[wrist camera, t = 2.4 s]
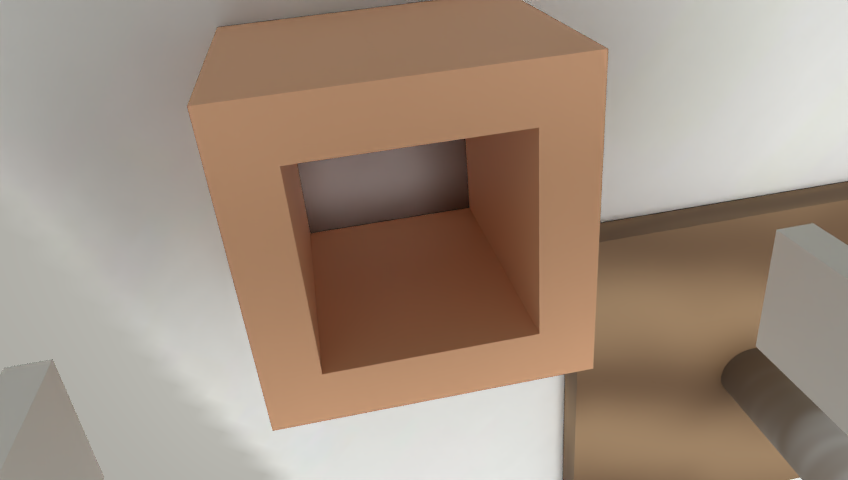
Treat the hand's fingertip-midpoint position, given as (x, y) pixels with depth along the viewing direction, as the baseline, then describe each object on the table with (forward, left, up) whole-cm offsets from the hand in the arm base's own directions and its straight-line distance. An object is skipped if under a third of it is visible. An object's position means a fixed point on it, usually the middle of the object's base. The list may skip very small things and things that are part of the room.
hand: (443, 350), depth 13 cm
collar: (0, 0, -10) cm, 10 cm away
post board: (+11, +13, -10) cm, 20 cm away
